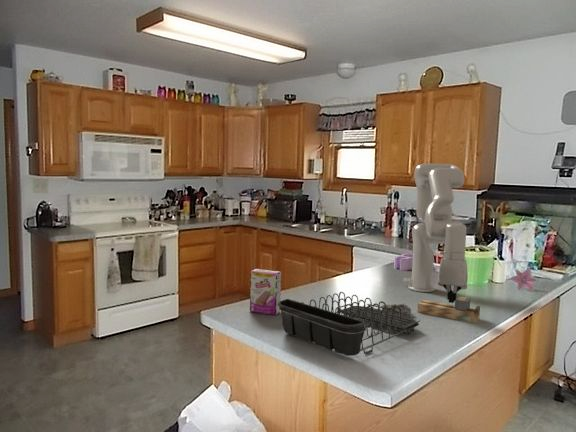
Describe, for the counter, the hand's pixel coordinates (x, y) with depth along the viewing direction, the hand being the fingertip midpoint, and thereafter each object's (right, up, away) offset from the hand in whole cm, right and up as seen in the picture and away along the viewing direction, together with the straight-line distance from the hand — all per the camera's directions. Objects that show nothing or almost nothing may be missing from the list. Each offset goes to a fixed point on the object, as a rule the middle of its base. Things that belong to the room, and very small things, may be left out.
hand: (451, 301), depth 174 cm
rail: (-1, -6, +1) cm, 6 cm away
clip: (+7, +3, +88) cm, 89 cm away
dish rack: (-41, -7, -20) cm, 46 cm away
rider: (+3, -3, -2) cm, 5 cm away
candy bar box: (-73, -4, 0) cm, 73 cm away
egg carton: (-21, -6, +1) cm, 22 cm away
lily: (+51, -3, +45) cm, 68 cm away
